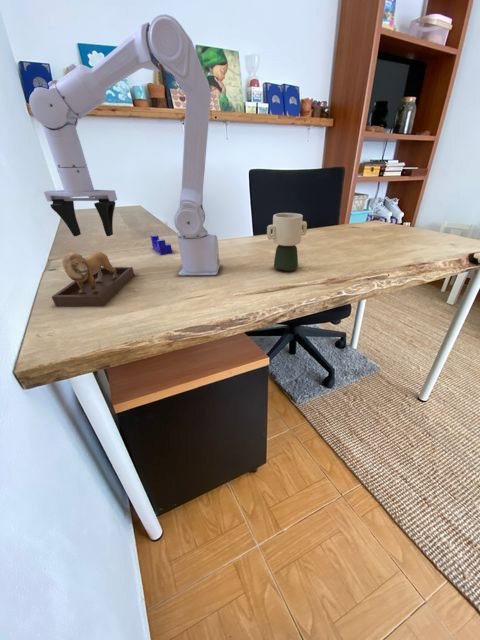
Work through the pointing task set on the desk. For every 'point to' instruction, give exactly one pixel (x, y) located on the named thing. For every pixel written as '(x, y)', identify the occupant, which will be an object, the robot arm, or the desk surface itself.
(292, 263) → the beige and green trophy
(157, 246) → the cable holder
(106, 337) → the desk surface
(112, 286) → the brown rectangular tray
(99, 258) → the lion figurine
